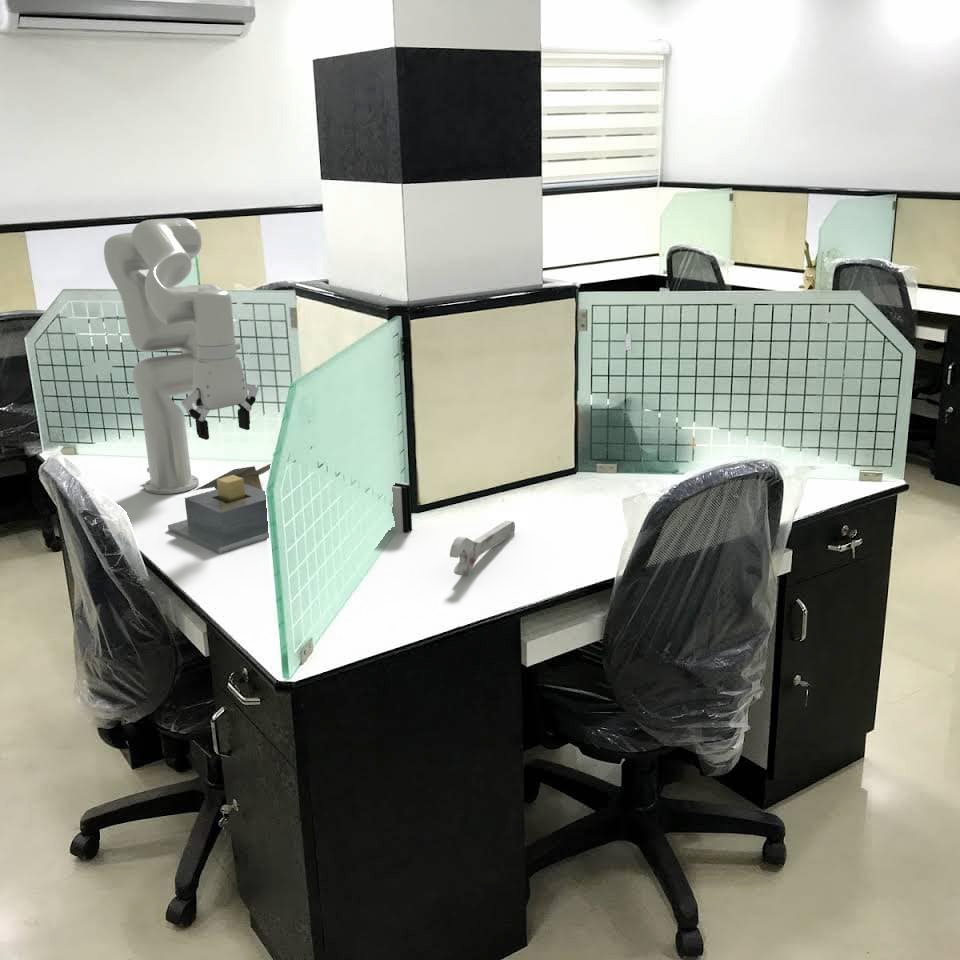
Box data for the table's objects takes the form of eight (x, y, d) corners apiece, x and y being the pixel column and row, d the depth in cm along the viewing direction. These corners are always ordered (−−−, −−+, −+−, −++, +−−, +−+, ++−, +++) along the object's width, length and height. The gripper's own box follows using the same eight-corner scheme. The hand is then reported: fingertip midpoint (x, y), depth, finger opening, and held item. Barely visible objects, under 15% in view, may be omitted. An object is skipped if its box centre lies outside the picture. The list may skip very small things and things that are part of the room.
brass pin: (221, 523, 213) (216, 479, 210) (237, 518, 216) (232, 474, 213) (231, 528, 210) (227, 483, 207) (247, 523, 213) (243, 478, 210)
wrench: (514, 546, 209) (457, 585, 182) (506, 545, 210) (448, 583, 182) (516, 508, 207) (458, 542, 180) (507, 507, 208) (449, 541, 181)
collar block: (168, 530, 213) (164, 498, 211) (248, 506, 227) (245, 476, 224) (219, 553, 200) (215, 520, 198) (300, 527, 213) (298, 495, 211)
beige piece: (207, 522, 229) (242, 487, 222) (191, 490, 231) (225, 455, 224) (260, 512, 243) (295, 479, 235) (245, 482, 245) (279, 448, 237)
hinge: (346, 529, 212) (343, 484, 209) (356, 520, 217) (353, 476, 214) (408, 534, 208) (406, 488, 205) (416, 525, 213) (414, 480, 210)
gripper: (243, 343, 210) (249, 422, 215) (168, 355, 198) (177, 438, 204) (263, 348, 205) (269, 428, 210) (188, 361, 193) (196, 445, 199)
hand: (224, 433), depth 207 cm, fingers open, 9 cm apart
